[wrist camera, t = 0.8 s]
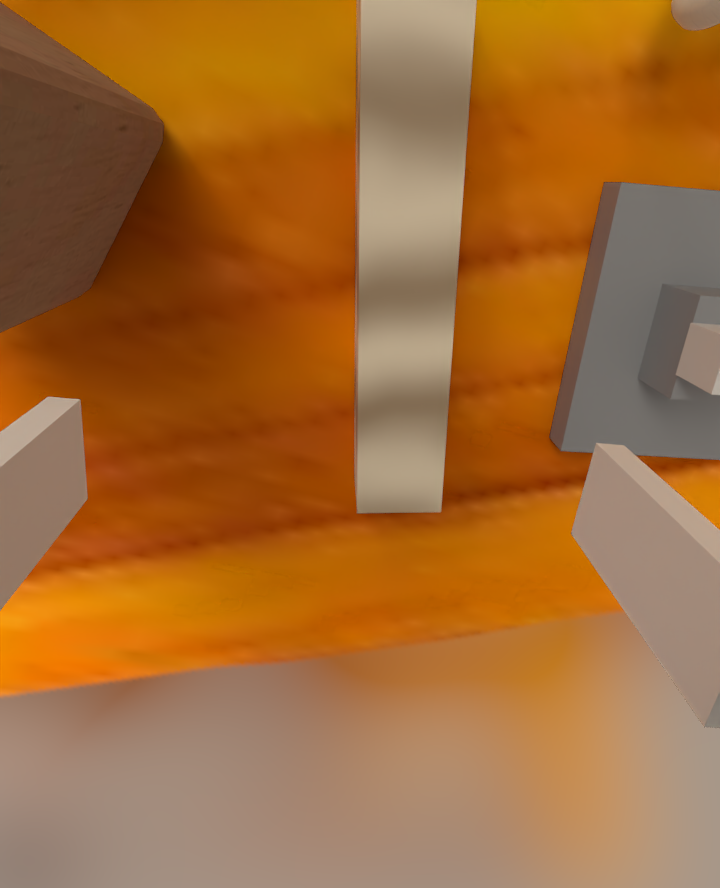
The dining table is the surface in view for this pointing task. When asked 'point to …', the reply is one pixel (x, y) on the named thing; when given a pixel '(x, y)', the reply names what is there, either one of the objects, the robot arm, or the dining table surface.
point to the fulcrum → (647, 328)
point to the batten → (407, 242)
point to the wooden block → (62, 168)
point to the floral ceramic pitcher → (696, 13)
